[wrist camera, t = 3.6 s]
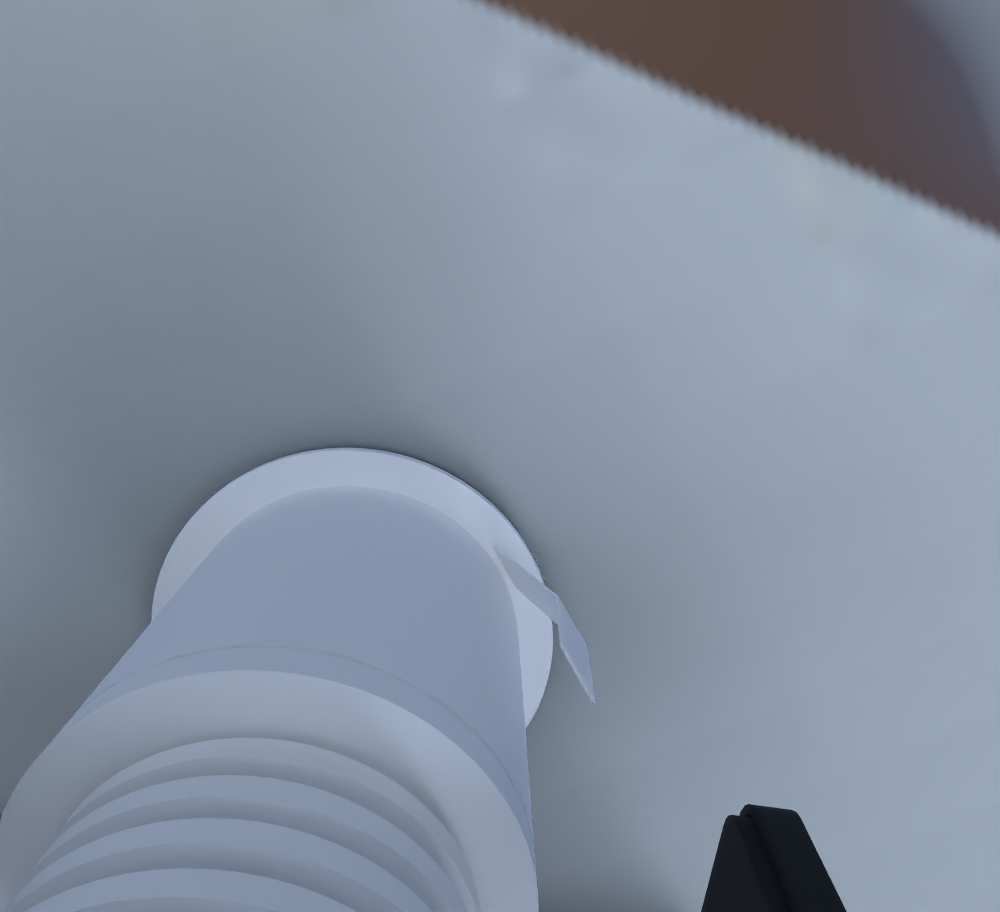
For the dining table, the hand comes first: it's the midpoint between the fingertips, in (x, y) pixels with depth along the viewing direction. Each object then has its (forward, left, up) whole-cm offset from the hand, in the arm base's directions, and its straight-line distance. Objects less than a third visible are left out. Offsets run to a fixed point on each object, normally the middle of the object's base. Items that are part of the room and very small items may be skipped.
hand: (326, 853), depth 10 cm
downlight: (0, 0, -6) cm, 6 cm away
